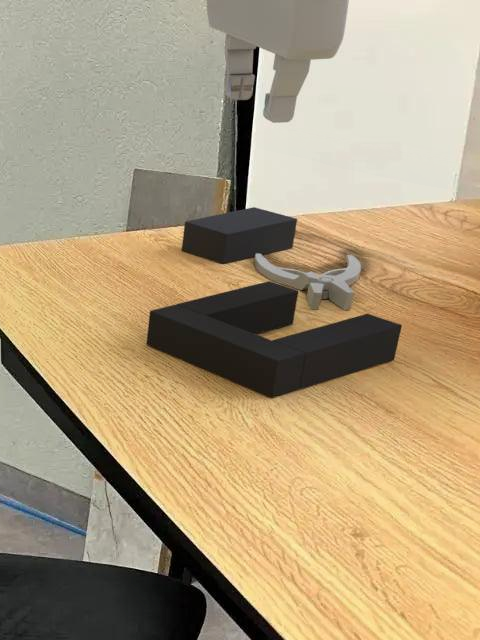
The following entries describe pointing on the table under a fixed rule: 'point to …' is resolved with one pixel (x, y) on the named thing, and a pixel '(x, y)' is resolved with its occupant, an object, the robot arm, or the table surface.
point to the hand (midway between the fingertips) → (256, 109)
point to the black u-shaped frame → (261, 353)
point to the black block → (238, 235)
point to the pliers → (316, 281)
